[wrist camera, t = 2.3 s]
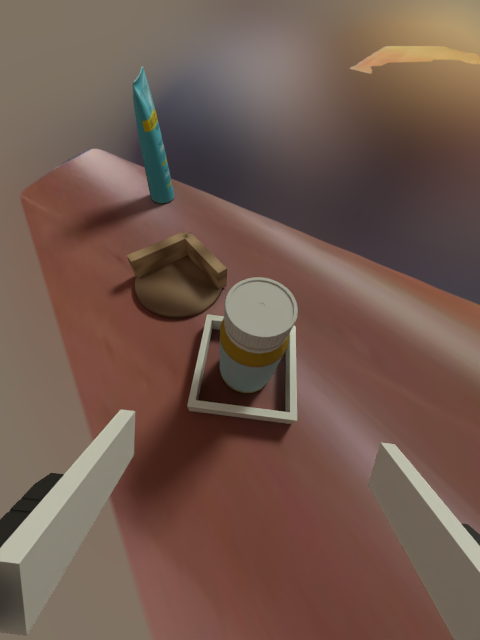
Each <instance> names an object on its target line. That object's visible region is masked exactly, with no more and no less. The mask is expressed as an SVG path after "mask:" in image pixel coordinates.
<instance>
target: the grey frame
mask: <svg viewBox="0 0 480 640" xmlns="http://www.w3.org/2000/svg"><path fill="white" fill-rule="evenodd" d="M223 318H224V317H223V316H215V315H207V318H206V322H205V327H204V331H203V336H202V340H201V345H200V350H199V354H198V359H197V363H196V368H195V372H194V377H193V381H192V386H191V391H190V395H189V400H188V404H187V407H188V409H189V411H194V412H202V413H209V414H217V415H225V416H232V417H240V418H248V419H256V420H263V421H271V422H279V423H286V424H293V423H294V422H296V421H297V384H296V326H293V328H292V330H291V332H290V333H289V343H288V346H287V349H286V371H285V412H283V411H275V410H268V409H260V408H252V407H245V406H237V405H229V404H221V403H214V402H206V401H198V399H199V394H200V389H201V384H202V379H203V373H204V368H205V363H206V358H207V353H208V348H209V343H210V338H211V333H212V329H217V330H220V326H221V323H222V321H223Z"/></svg>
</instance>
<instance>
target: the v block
mask: <svg viewBox="0 0 480 640" xmlns="http://www.w3.org/2000/svg"><path fill="white" fill-rule="evenodd" d="M127 258H128V260H129V262H130V265H131V267H132V269H133V271H134V274H135V275H136V279H135V291H136V294H137V296H138V299H139V300H140V302H141V303H142V305H143V306H144V307H145V308H146V309H148V310H149V311H151V312H152V313H154V314H156V315H159V316H162V317H166V318H187V317H191V316H194V315H197V314H200V313H202V312H204V311H205V310H207V309H208V308H210V307H211V306H212V305H213V304H214V303H215V302H216V301H217V299H218V298H219V296H220V294H221V291H222V288H223V287H225V286H226V281H227V268H226V267H225V266H224V265H223V264H222V263H221V262H220V261H219V260H218V259H217V258H216V257H215V256H214V255H213V254H212V253H211V252H210V251H209V250H208V249H207V248H206V247H205V246H204V245H203V244H202V243H201V242H200V241H199V240H198V239H197V238H196V237H195V236H194V235H193V234H192V233H188V234H186V233H185V232H182V233H179V234H177V235H174V236H172V237H170V238H167V239H165V240H163V241H160V242H158V243H155V244H153V245H151V246H148V247H146V248H143V249H141V250H139V251H136V252H134V253H131V254H129V255H127Z"/></svg>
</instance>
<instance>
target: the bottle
mask: <svg viewBox="0 0 480 640" xmlns="http://www.w3.org/2000/svg"><path fill="white" fill-rule="evenodd" d="M297 312H298V309H297V303H296V300H295V298H294V296H293V295H292V293H291V292H290V291H289V290H288V289H287V288H286V287H285V286H283V285H282V284H280V283H279V282H277V281H274V280H271V279H267V278H260V277H256V278H249V279H245V280H243V281H240V282H239V283H237V284H236V285H234V286H233V287H232V288H231V290H230V291H229V293H228V294H227V297H226V300H225V307H224V318H223V321H222V323H221V326H220V373H221V376H222V379H223V380H224V382H225V383H226V384H227V385H228V386H229V387H230V388H232V389H233V390H235V391H237V392H241V393H253V392H256V391H259V390H260V389H262V388H263V387H264V386H265V385H266V384H267V383H268V381H269V380H270V378H271V376H272V375H273V373H274V371H275V369H276V367H277V366H278V364H279V362H280V360H281V358H282V356H283V355H284V353H285V351H286V349H287V346H288V343H289V333H290V332H291V330H292V328H293V326H294V324H295V322H296V319H297Z"/></svg>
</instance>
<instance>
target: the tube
mask: <svg viewBox="0 0 480 640" xmlns="http://www.w3.org/2000/svg"><path fill="white" fill-rule="evenodd" d="M133 99H134V100H133V101H134V108H135V116H136V122H137V128H138V134H139V140H140V145H141V150H142V156H143V160H144V166H145V171H146V176H147V181H148V186H149V191H150V195H151V199H152V200H153V201H155V202H157V203H168V202H170V201H172V200H173V199H174V193H173V187H172V182H171V177H170V173H169V168H168V163H167V159H166V154H165V150H164V145H163V141H162V137H161V132H160V128H159V124H158V119H157V115H156V111H155V108H154V104H153V100H152V96H151V93H150V89H149V86H148V82H147V79H146V76H145V72H144V68H143V66H142V68H141V71H140V74H139V76H138V77H137V79H136V80H135V81H134V82H133Z"/></svg>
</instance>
